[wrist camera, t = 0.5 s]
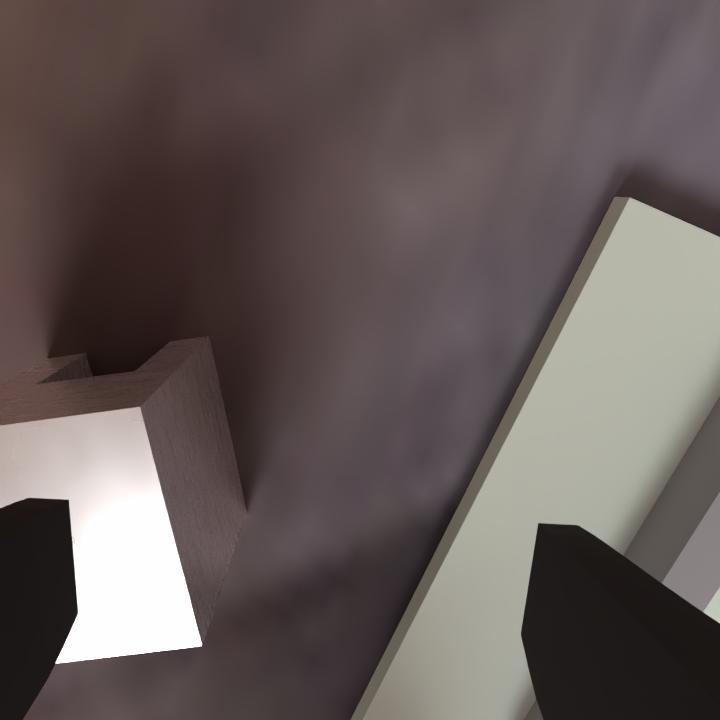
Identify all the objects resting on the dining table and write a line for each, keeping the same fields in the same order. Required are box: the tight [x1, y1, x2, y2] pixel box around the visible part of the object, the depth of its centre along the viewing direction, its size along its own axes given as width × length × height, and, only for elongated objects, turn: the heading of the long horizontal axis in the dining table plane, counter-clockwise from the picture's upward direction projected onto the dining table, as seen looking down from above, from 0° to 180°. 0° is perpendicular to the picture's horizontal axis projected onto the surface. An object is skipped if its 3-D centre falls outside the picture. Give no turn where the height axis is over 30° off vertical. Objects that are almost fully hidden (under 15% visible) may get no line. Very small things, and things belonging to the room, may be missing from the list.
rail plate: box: [351, 197, 720, 720], centre depth 19 cm, size 20×12×3 cm, turn 158°
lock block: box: [0, 336, 247, 663], centre depth 16 cm, size 6×5×6 cm
